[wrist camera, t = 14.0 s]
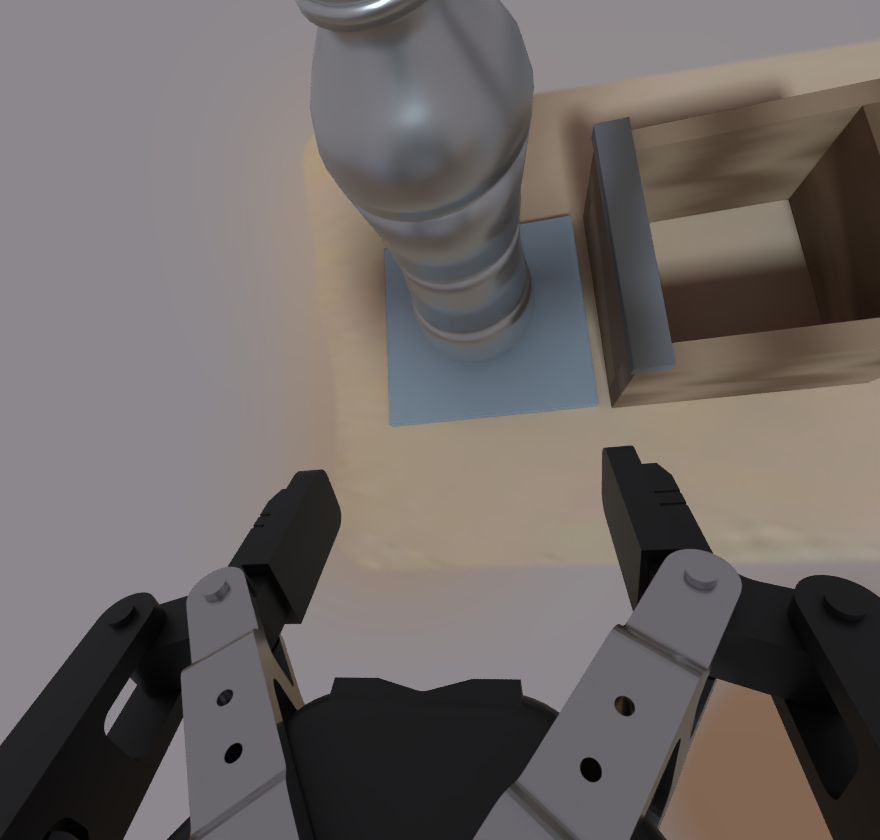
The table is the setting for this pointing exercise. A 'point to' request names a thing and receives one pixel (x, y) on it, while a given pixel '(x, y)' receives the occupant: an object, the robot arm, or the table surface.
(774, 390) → the holder
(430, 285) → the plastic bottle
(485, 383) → the mat
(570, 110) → the table surface
